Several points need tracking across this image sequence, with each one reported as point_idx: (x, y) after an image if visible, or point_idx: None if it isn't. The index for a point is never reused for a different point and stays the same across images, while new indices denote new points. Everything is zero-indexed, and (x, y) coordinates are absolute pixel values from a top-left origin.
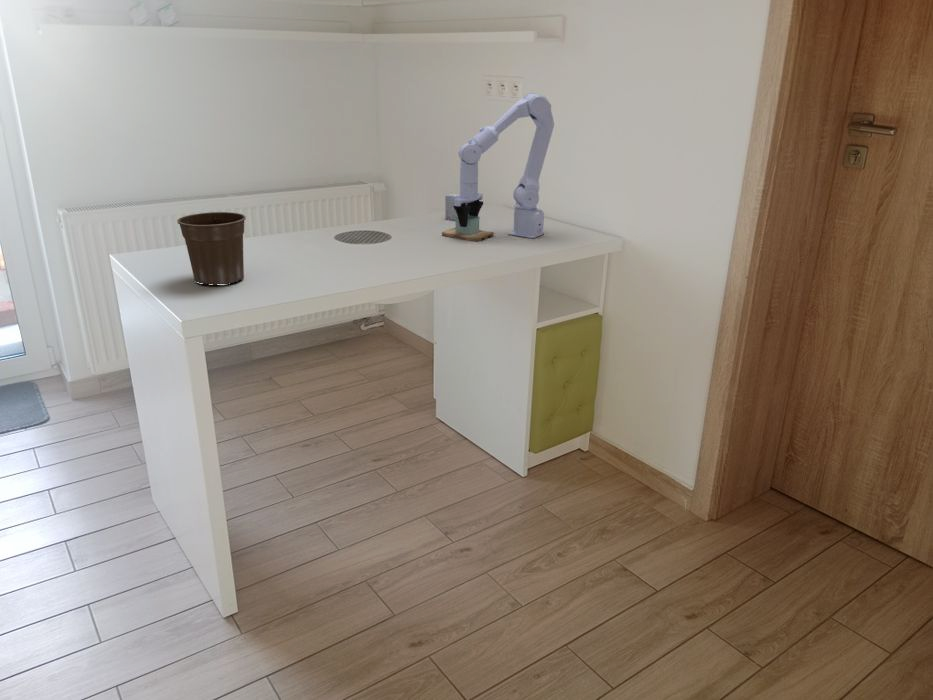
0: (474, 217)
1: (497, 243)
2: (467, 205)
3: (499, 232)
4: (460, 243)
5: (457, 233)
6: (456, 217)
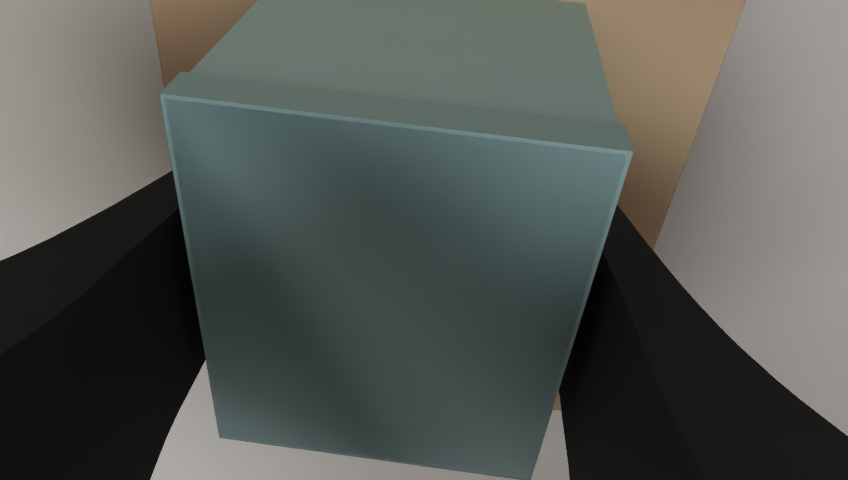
0: (420, 432)
1: (304, 461)
2: (693, 476)
3: (811, 379)
4: (18, 197)
5: None
6: (169, 122)
